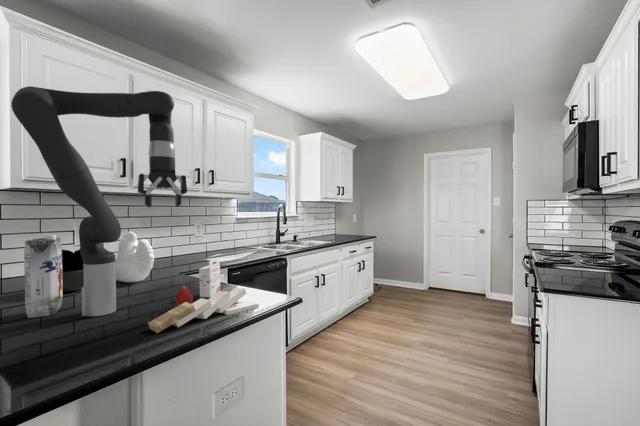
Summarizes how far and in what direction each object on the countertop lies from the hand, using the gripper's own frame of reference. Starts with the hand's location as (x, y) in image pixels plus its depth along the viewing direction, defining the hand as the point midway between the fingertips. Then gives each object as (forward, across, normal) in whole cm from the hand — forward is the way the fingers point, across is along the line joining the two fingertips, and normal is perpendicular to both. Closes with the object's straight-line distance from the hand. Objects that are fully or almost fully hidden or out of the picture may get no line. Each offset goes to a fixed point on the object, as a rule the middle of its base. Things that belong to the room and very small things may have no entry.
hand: (163, 207), depth 108 cm
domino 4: (+36, +16, -8) cm, 40 cm away
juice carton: (+36, -31, +32) cm, 58 cm away
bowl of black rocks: (+37, -25, +66) cm, 80 cm away
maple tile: (+35, -6, -11) cm, 37 cm away
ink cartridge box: (+37, +22, +20) cm, 47 cm away
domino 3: (+34, +14, -7) cm, 38 cm away
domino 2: (+35, +8, -9) cm, 37 cm away
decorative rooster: (+37, +2, +69) cm, 78 cm away
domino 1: (+35, 0, -10) cm, 36 cm away
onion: (+36, +8, +7) cm, 38 cm away
